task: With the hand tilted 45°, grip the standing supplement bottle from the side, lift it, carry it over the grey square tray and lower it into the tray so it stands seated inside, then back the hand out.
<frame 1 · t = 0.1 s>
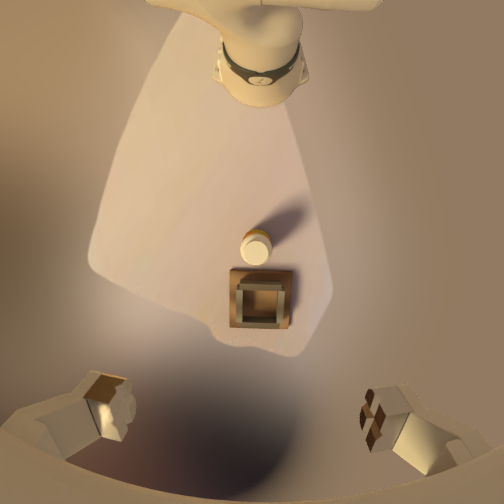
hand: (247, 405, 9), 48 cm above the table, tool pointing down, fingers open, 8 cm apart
supplement bottle: (256, 242, 56), on the table
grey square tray: (259, 299, 58), on the table
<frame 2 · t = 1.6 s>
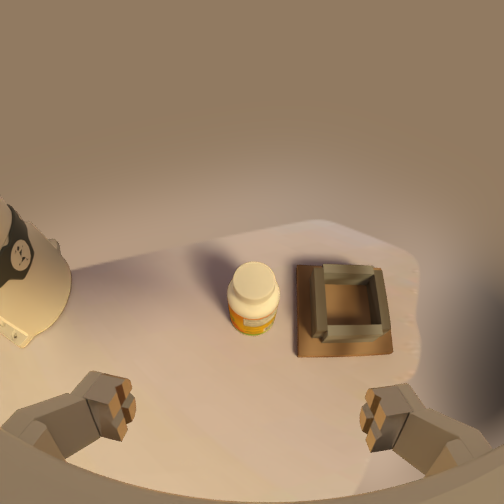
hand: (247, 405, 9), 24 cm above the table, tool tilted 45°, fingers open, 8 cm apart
supplement bottle: (252, 317, 35), on the table
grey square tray: (343, 311, 36), on the table
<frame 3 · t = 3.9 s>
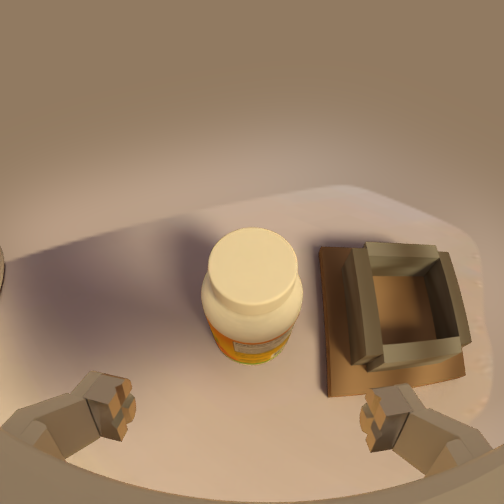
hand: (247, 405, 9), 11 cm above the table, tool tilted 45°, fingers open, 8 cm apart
supplement bottle: (251, 332, 21), on the table
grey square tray: (393, 317, 21), on the table
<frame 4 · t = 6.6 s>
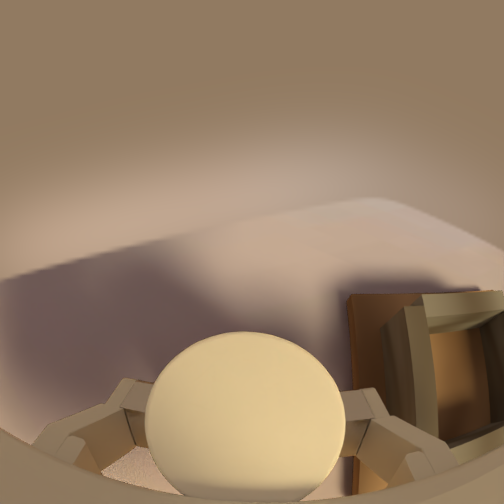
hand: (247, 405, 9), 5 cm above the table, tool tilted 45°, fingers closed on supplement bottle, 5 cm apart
supplement bottle: (248, 423, 13), on the table, touching gripper
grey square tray: (442, 388, 13), on the table
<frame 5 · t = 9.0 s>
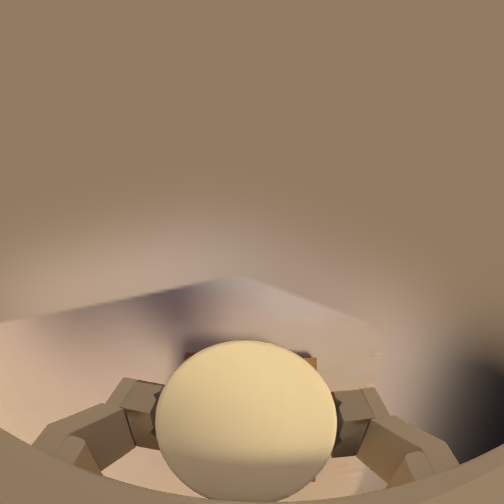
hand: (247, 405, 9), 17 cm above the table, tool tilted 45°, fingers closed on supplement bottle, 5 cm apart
supplement bottle: (248, 424, 13), point 11 cm above the table, touching gripper
when the fingers open (7 cm above the table, at t = 11.4 s): supplement bottle stays where it is, resting on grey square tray.
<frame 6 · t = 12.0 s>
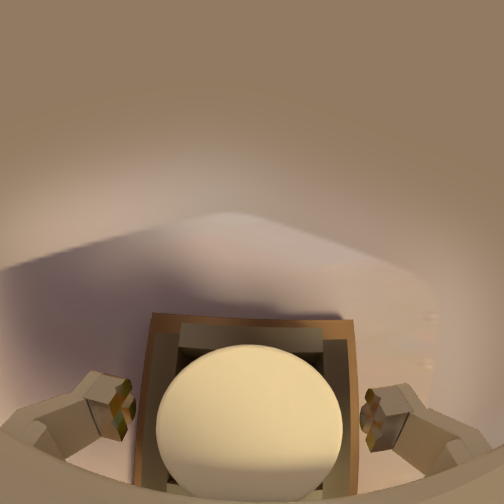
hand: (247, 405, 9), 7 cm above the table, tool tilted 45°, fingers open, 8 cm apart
supplement bottle: (249, 425, 13), point 1 cm above the table, touching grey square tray
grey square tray: (248, 422, 14), on the table
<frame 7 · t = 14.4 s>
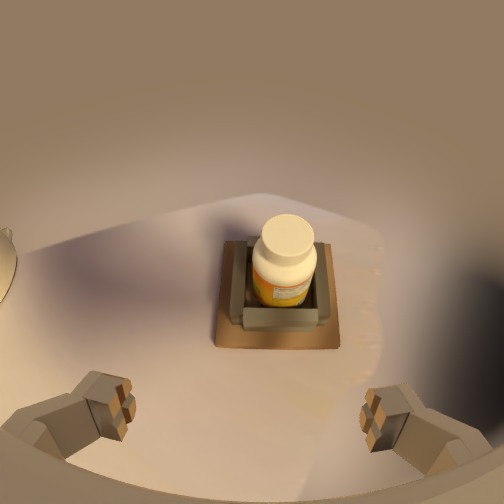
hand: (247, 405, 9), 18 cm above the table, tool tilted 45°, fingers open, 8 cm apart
supplement bottle: (279, 292, 30), point 1 cm above the table, touching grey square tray
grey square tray: (278, 294, 31), on the table
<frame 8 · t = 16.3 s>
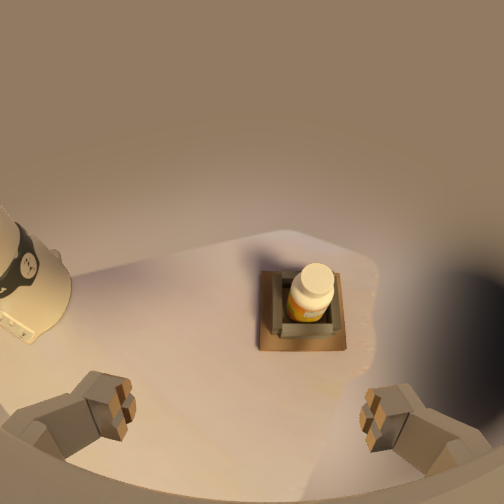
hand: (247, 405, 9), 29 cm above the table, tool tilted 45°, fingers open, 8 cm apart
supplement bottle: (303, 310, 41), point 1 cm above the table, touching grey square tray
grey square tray: (302, 311, 42), on the table
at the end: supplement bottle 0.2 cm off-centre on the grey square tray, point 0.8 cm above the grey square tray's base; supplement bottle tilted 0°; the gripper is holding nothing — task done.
